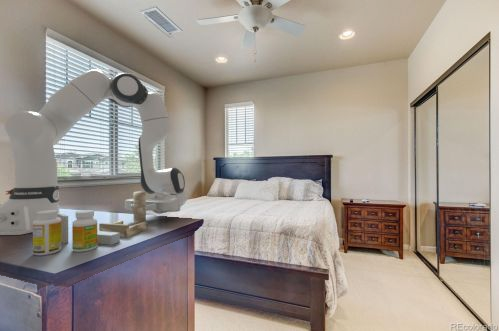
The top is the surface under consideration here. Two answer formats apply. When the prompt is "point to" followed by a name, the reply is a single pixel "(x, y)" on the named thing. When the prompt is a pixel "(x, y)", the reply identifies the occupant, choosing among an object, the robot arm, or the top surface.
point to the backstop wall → (107, 237)
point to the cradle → (122, 228)
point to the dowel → (139, 207)
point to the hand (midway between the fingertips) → (138, 207)
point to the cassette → (64, 227)
